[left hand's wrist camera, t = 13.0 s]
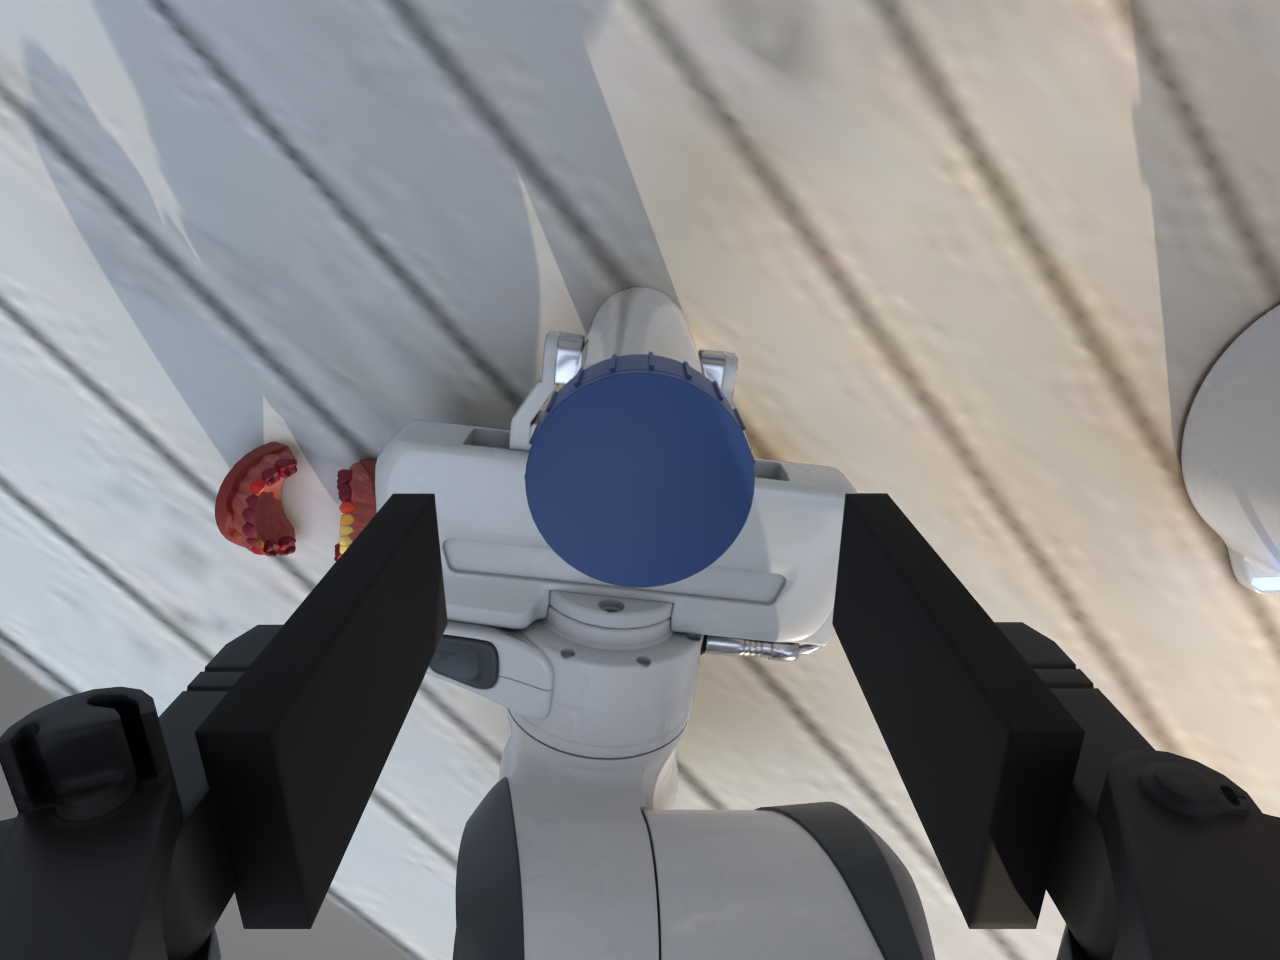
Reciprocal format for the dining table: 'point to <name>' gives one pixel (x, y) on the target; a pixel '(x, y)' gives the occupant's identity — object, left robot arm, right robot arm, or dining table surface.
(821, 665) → the dining table surface
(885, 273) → the dining table surface
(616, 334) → the white cylinder
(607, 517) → the lid
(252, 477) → the dental model
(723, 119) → the dining table surface
